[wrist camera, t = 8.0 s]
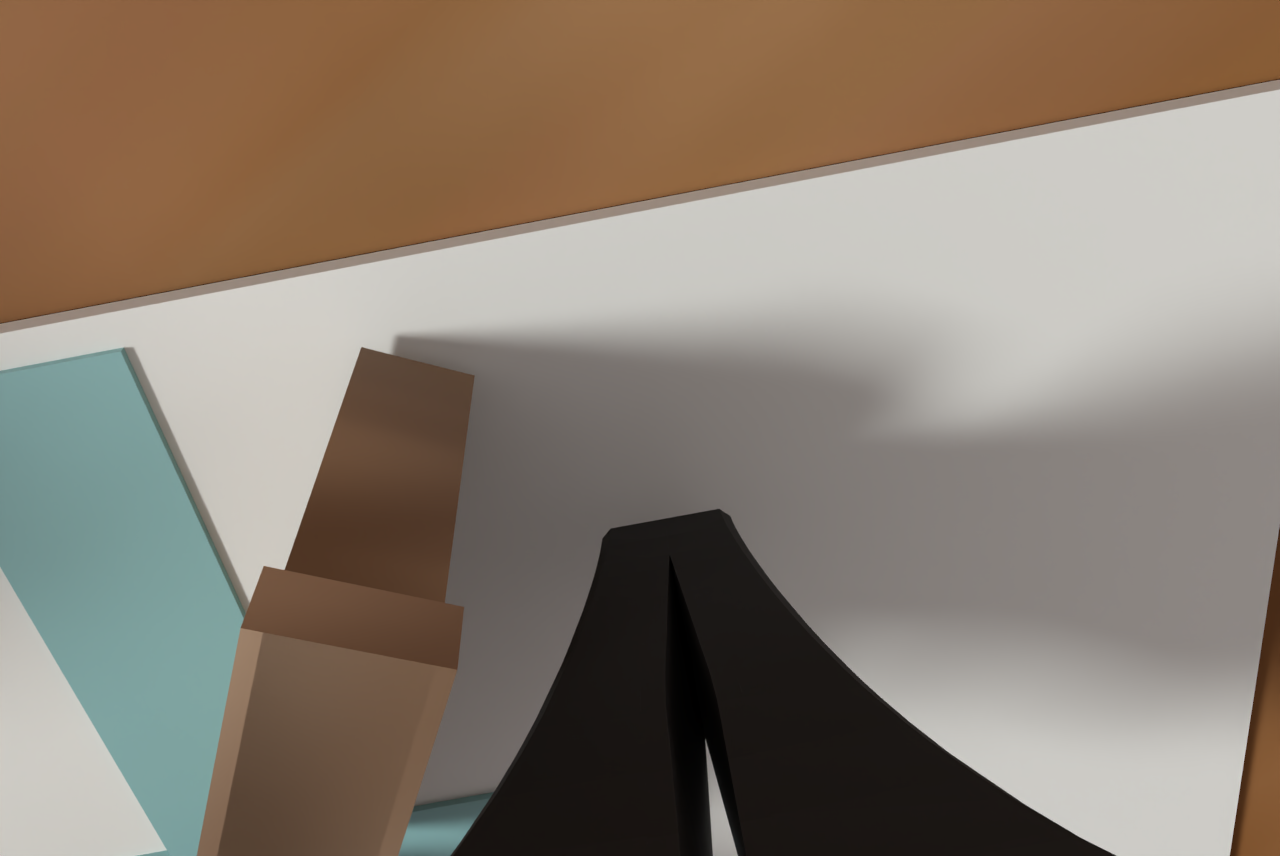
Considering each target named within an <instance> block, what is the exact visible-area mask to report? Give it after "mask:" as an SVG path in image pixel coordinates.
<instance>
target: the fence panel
mask: <svg viewBox="0 0 1280 856" xmlns="http://www.w3.org/2000/svg"><path fill="white" fill-rule="evenodd" d="M474 377H475V375H471V374H467V373H463V372H459V371H455V370H451V369H447V368H443V367H439V366H435V365H431V364H427V363H423V362H419V361H415V360H411V359H407V358H403V357H399V356H395V355H391V354H387V353H383V352H379V351H375V350H371V349H367V348H363V347H361V349H360V352H359V355H358V358H357V361H356V364H355V367H354V370H353V373H352V376H351V378H350V381H349V384H348V387H347V390H346V393H345V396H344V399H343V402H342V405H341V407H340V410H339V413H338V416H337V419H336V422H335V425H334V428H333V431H332V434H331V436H330V439H329V442H328V445H327V448H326V451H325V454H324V457H323V460H322V463H321V466H320V468H319V471H318V474H317V477H316V480H315V483H314V486H313V489H312V492H311V495H310V497H309V500H308V503H307V506H306V509H305V512H304V515H303V518H302V521H301V524H300V526H299V529H298V532H297V535H296V538H295V541H294V544H293V547H292V550H291V553H290V556H289V558H288V561H287V564H286V567H285V570H282V569H277V568H272V567H267V566H263V569H262V572H261V574H260V577H259V580H258V583H257V585H256V588H255V591H254V593H253V596H252V599H251V601H250V604H249V607H248V609H247V612H246V615H245V617H244V620H243V623H242V625H241V628H240V633H239V638H238V644H237V649H236V654H235V659H234V664H233V670H232V675H231V680H230V685H229V690H228V696H227V701H226V706H225V711H224V716H223V722H222V727H221V732H220V737H219V742H218V748H217V753H216V758H215V763H214V768H213V774H212V779H211V784H210V789H209V794H208V800H207V805H206V810H205V815H204V820H203V826H202V831H201V836H200V841H199V846H198V852H197V856H398V855H399V852H400V848H401V845H402V842H403V839H404V836H405V833H406V830H407V826H408V823H409V820H410V817H411V814H412V811H413V808H414V804H415V801H416V798H417V795H418V792H419V789H420V786H421V783H422V779H423V776H424V773H425V770H426V767H427V764H428V761H429V757H430V754H431V751H432V748H433V745H434V742H435V739H436V736H437V732H438V729H439V726H440V723H441V720H442V717H443V714H444V710H445V707H446V704H447V701H448V698H449V695H450V692H451V689H452V685H453V682H454V679H455V676H456V673H457V669H458V660H459V651H460V641H461V632H462V623H463V613H464V607H462V606H457V605H452V604H448V603H445V598H446V590H447V583H448V575H449V567H450V560H451V552H452V545H453V537H454V529H455V522H456V514H457V506H458V499H459V491H460V484H461V476H462V468H463V461H464V453H465V446H466V438H467V430H468V423H469V415H470V408H471V400H472V392H473V385H474Z"/></svg>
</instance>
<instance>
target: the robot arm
mask: <svg viewBox="0 0 1280 856" xmlns="http://www.w3.org/2000/svg"><path fill="white" fill-rule="evenodd" d="M705 739H706V742H705ZM706 743H707V746H708V750H709V753H710V757H711V761H712V764H713V768H714V772H715V775H716V779H717V782H718V786H719V790H720V793H721V797H722V801H723V804H724V808H725V811H726V815H727V819H728V822H729V826H730V829H731V833H732V837H733V840H734V844H735V847H736V851H737V855H738V856H1116V855H1114V854H1112V853H1110V852H1108V851H1106V850H1104V849H1102V848H1100V847H1098V846H1096V845H1094V844H1092V843H1090V842H1088V841H1086V840H1084V839H1082V838H1080V837H1079V836H1077V835H1075V834H1074V833H1072V832H1070V831H1069V830H1067V829H1065V828H1064V827H1062V826H1060V825H1059V824H1057V823H1055V822H1053V821H1052V820H1050V819H1048V818H1047V817H1045V816H1043V815H1042V814H1040V813H1038V812H1037V811H1035V810H1033V809H1032V808H1030V807H1028V806H1027V805H1025V804H1024V803H1022V802H1021V801H1019V800H1018V799H1016V798H1015V797H1013V796H1012V795H1010V794H1009V793H1007V792H1006V791H1004V790H1003V789H1002V788H1000V787H999V786H997V785H996V784H994V783H993V782H991V781H990V780H988V779H987V778H985V777H984V776H982V775H981V774H979V773H978V772H977V771H975V770H974V769H972V768H971V767H969V766H968V765H966V764H965V763H963V762H962V761H960V760H959V759H957V758H956V757H955V756H953V755H952V754H950V753H949V752H948V751H946V750H945V749H944V748H942V747H941V746H940V745H938V744H937V743H936V742H935V741H933V740H932V739H931V738H930V737H928V736H927V735H926V734H924V733H923V732H922V731H921V730H919V729H918V728H917V727H915V726H914V725H913V724H912V723H910V722H909V721H908V720H907V719H906V718H904V717H903V716H902V715H901V714H900V713H899V712H897V711H896V710H895V709H894V708H893V707H891V706H890V705H889V704H888V703H887V702H886V701H884V700H883V699H882V698H881V697H880V696H879V695H878V694H876V693H875V692H874V691H873V690H872V689H871V688H870V687H869V686H868V685H867V684H866V683H864V682H863V681H862V680H861V679H860V678H859V677H858V676H857V675H856V674H855V673H854V672H853V671H852V670H851V669H850V668H849V667H848V666H847V665H846V664H845V663H844V662H843V661H842V660H841V659H840V658H839V657H838V656H837V655H836V654H835V653H834V652H833V651H832V650H831V649H830V648H829V647H828V646H827V645H826V644H825V643H824V642H823V641H822V640H821V639H820V637H819V636H818V635H817V634H816V633H815V632H814V631H813V630H812V629H811V628H810V627H809V626H808V624H807V623H806V622H805V621H804V620H803V619H802V617H801V616H800V615H799V614H798V613H797V611H796V610H795V609H794V608H793V607H792V606H791V604H790V603H789V602H788V601H787V600H786V598H785V597H784V596H783V595H782V594H781V593H780V591H779V590H778V589H777V588H776V586H775V585H774V584H773V582H772V581H771V580H770V579H769V577H768V576H767V575H766V573H765V572H764V570H763V569H762V568H761V566H760V565H759V564H758V562H757V561H756V559H755V558H754V557H753V555H752V554H751V552H750V551H749V549H748V548H747V546H746V544H745V543H744V541H743V540H742V538H741V536H740V534H739V533H738V531H737V529H736V527H735V525H734V523H733V521H732V519H731V516H730V515H728V514H727V513H725V512H723V511H722V510H720V509H715V510H709V511H704V512H698V513H693V514H687V515H682V516H676V517H671V518H665V519H660V520H654V521H649V522H643V523H638V524H632V525H627V526H621V527H616V528H611V529H610V530H609V531H608V532H607V533H606V535H605V536H604V537H603V538H602V544H601V550H600V555H599V559H598V563H597V567H596V571H595V574H594V578H593V581H592V585H591V588H590V591H589V594H588V597H587V600H586V603H585V606H584V609H583V612H582V614H581V617H580V620H579V622H578V625H577V627H576V630H575V632H574V635H573V638H572V640H571V643H570V645H569V648H568V650H567V653H566V655H565V658H564V660H563V663H562V665H561V667H560V669H559V671H558V674H557V676H556V678H555V680H554V682H553V684H552V686H551V688H550V690H549V693H548V695H547V697H546V699H545V701H544V703H543V705H542V707H541V709H540V711H539V714H538V716H537V718H536V720H535V722H534V724H533V725H532V727H531V729H530V731H529V733H528V735H527V737H526V738H525V740H524V742H523V744H522V746H521V748H520V749H519V751H518V753H517V755H516V756H515V758H514V760H513V762H512V763H511V765H510V767H509V768H508V770H507V772H506V773H505V775H504V777H503V778H502V780H501V782H500V783H499V785H498V786H497V788H496V790H495V791H494V793H493V794H492V796H491V797H490V799H489V800H488V802H487V803H486V805H485V806H484V808H483V809H482V811H481V812H480V814H479V815H478V817H477V818H476V820H475V821H474V823H473V824H472V826H471V827H470V829H469V830H468V832H467V833H466V834H465V836H464V837H463V839H462V840H461V842H460V843H459V845H458V846H457V847H456V849H455V850H454V851H453V853H452V854H451V856H713V850H712V834H711V818H710V802H709V787H708V772H707V757H706Z"/></svg>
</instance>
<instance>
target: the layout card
mask: <svg viewBox="0 0 1280 856" xmlns="http://www.w3.org/2000/svg"><path fill="white" fill-rule="evenodd" d="M361 347H363V348H367V349H371V350H375V351H379V352H383V353H387V354H391V355H395V356H399V357H403V358H407V359H411V360H415V361H419V362H423V363H427V364H431V365H435V366H439V367H443V368H447V369H451V370H455V371H459V372H463V373H467V374H471V375H475V377H474V385H473V392H472V400H471V408H470V415H469V423H468V430H467V438H466V446H465V453H464V461H463V468H462V476H461V484H460V491H459V499H458V506H457V514H456V522H455V529H454V537H453V545H452V552H451V560H450V567H449V575H448V583H447V590H446V598H445V603H448V604H452V605H457V606H462V607H464V613H463V623H462V632H461V641H460V651H459V660H458V669H457V673H456V676H455V679H454V682H453V685H452V689H451V692H450V695H449V698H448V701H447V704H446V707H445V710H444V714H443V717H442V720H441V723H440V726H439V729H438V732H437V736H436V739H435V742H434V745H433V748H432V751H431V754H430V757H429V761H428V764H427V767H426V770H425V773H424V776H423V779H422V783H421V786H420V789H419V792H418V795H417V798H416V801H415V804H414V808H413V811H412V814H411V817H410V820H409V823H408V826H407V830H406V833H405V836H404V839H403V842H402V845H401V848H400V852H399V855H398V856H451V854H452V853H453V851H454V850H455V849H456V847H457V846H458V845H459V843H460V842H461V840H462V839H463V837H464V836H465V834H466V833H467V832H468V830H469V829H470V827H471V826H472V824H473V823H474V821H475V820H476V818H477V817H478V815H479V814H480V812H481V811H482V809H483V808H484V806H485V805H486V803H487V802H488V800H489V799H490V797H491V796H492V794H493V793H494V791H495V790H496V788H497V786H498V785H499V783H500V782H501V780H502V778H503V777H504V775H505V773H506V772H507V770H508V768H509V767H510V765H511V763H512V762H513V760H514V758H515V756H516V755H517V753H518V751H519V749H520V748H521V746H522V744H523V742H524V740H525V738H526V737H527V735H528V733H529V731H530V729H531V727H532V725H533V724H534V722H535V720H536V718H537V716H538V714H539V711H540V709H541V707H542V705H543V703H544V701H545V699H546V697H547V695H548V693H549V690H550V688H551V686H552V684H553V682H554V680H555V678H556V676H557V674H558V671H559V669H560V667H561V665H562V663H563V660H564V658H565V655H566V653H567V650H568V648H569V645H570V643H571V640H572V638H573V635H574V632H575V630H576V627H577V625H578V622H579V620H580V617H581V614H582V612H583V609H584V606H585V603H586V600H587V597H588V594H589V591H590V588H591V585H592V581H593V578H594V574H595V571H596V567H597V563H598V559H599V555H600V550H601V544H602V538H603V537H604V536H605V535H606V533H607V532H608V531H609V530H610V529H611V528H616V527H621V526H627V525H632V524H638V523H643V522H649V521H654V520H660V519H665V518H671V517H676V516H682V515H687V514H693V513H698V512H704V511H709V510H715V509H720V510H722V511H723V512H725V513H727V514H728V515H730V516H731V519H732V521H733V523H734V525H735V527H736V529H737V531H738V533H739V534H740V536H741V538H742V540H743V541H744V543H745V544H746V546H747V548H748V549H749V551H750V552H751V554H752V555H753V557H754V558H755V559H756V561H757V562H758V564H759V565H760V566H761V568H762V569H763V570H764V572H765V573H766V575H767V576H768V577H769V579H770V580H771V581H772V582H773V584H774V585H775V586H776V588H777V589H778V590H779V591H780V593H781V594H782V595H783V596H784V597H785V598H786V600H787V601H788V602H789V603H790V604H791V606H792V607H793V608H794V609H795V610H796V611H797V613H798V614H799V615H800V616H801V617H802V619H803V620H804V621H805V622H806V623H807V624H808V626H809V627H810V628H811V629H812V630H813V631H814V632H815V633H816V634H817V635H818V636H819V637H820V639H821V640H822V641H823V642H824V643H825V644H826V645H827V646H828V647H829V648H830V649H831V650H832V651H833V652H834V653H835V654H836V655H837V656H838V657H839V658H840V659H841V660H842V661H843V662H844V663H845V664H846V665H847V666H848V667H849V668H850V669H851V670H852V671H853V672H854V673H855V674H856V675H857V676H858V677H859V678H860V679H861V680H862V681H863V682H864V683H866V684H867V685H868V686H869V687H870V688H871V689H872V690H873V691H874V692H875V693H876V694H878V695H879V696H880V697H881V698H882V699H883V700H884V701H886V702H887V703H888V704H889V705H890V706H891V707H893V708H894V709H895V710H896V711H897V712H899V713H900V714H901V715H902V716H903V717H904V718H906V719H907V720H908V721H909V722H910V723H912V724H913V725H914V726H915V727H917V728H918V729H919V730H921V731H922V732H923V733H924V734H926V735H927V736H928V737H930V738H931V739H932V740H933V741H935V742H936V743H937V744H938V745H940V746H941V747H942V748H944V749H945V750H946V751H948V752H949V753H950V754H952V755H953V756H955V757H956V758H957V759H959V760H960V761H962V762H963V763H965V764H966V765H968V766H969V767H971V768H972V769H974V770H975V771H977V772H978V773H979V774H981V775H982V776H984V777H985V778H987V779H988V780H990V781H991V782H993V783H994V784H996V785H997V786H999V787H1000V788H1002V789H1003V790H1004V791H1006V792H1007V793H1009V794H1010V795H1012V796H1013V797H1015V798H1016V799H1018V800H1019V801H1021V802H1022V803H1024V804H1025V805H1027V806H1028V807H1030V808H1032V809H1033V810H1035V811H1037V812H1038V813H1040V814H1042V815H1043V816H1045V817H1047V818H1048V819H1050V820H1052V821H1053V822H1055V823H1057V824H1059V825H1060V826H1062V827H1064V828H1065V829H1067V830H1069V831H1070V832H1072V833H1074V834H1075V835H1077V836H1079V837H1080V838H1082V839H1084V840H1086V841H1088V842H1090V843H1092V844H1094V845H1096V846H1098V847H1100V848H1102V849H1104V850H1106V851H1108V852H1110V853H1112V854H1114V855H1116V856H1230V851H1231V844H1232V837H1233V831H1234V824H1235V818H1236V811H1237V804H1238V798H1239V791H1240V785H1241V778H1242V771H1243V765H1244V758H1245V752H1246V745H1247V738H1248V732H1249V725H1250V718H1251V712H1252V705H1253V699H1254V692H1255V685H1256V679H1257V672H1258V666H1259V659H1260V652H1261V646H1262V639H1263V633H1264V626H1265V619H1266V613H1267V606H1268V600H1269V593H1270V586H1271V580H1272V573H1273V567H1274V560H1275V553H1276V547H1277V540H1278V533H1279V527H1280V80H1275V81H1269V82H1264V83H1259V84H1254V85H1248V86H1243V87H1238V88H1233V89H1227V90H1222V91H1217V92H1212V93H1206V94H1201V95H1196V96H1191V97H1186V98H1180V99H1175V100H1170V101H1165V102H1159V103H1154V104H1149V105H1144V106H1138V107H1133V108H1128V109H1123V110H1117V111H1112V112H1107V113H1102V114H1097V115H1091V116H1086V117H1081V118H1076V119H1070V120H1065V121H1060V122H1055V123H1049V124H1044V125H1039V126H1034V127H1028V128H1023V129H1018V130H1013V131H1008V132H1002V133H997V134H992V135H987V136H981V137H976V138H971V139H966V140H960V141H955V142H950V143H945V144H939V145H934V146H929V147H924V148H919V149H913V150H908V151H903V152H898V153H892V154H887V155H882V156H877V157H871V158H866V159H861V160H856V161H850V162H845V163H840V164H835V165H830V166H824V167H819V168H814V169H809V170H803V171H798V172H793V173H788V174H782V175H777V176H772V177H767V178H761V179H756V180H751V181H746V182H741V183H735V184H730V185H725V186H720V187H714V188H709V189H704V190H699V191H693V192H688V193H683V194H678V195H672V196H667V197H662V198H657V199H652V200H646V201H641V202H636V203H631V204H625V205H620V206H615V207H610V208H604V209H599V210H594V211H589V212H583V213H578V214H573V215H568V216H563V217H557V218H552V219H547V220H542V221H536V222H531V223H526V224H521V225H515V226H510V227H505V228H500V229H494V230H489V231H484V232H479V233H474V234H468V235H463V236H458V237H453V238H447V239H442V240H437V241H432V242H426V243H421V244H416V245H411V246H405V247H400V248H395V249H390V250H385V251H379V252H374V253H369V254H364V255H358V256H353V257H348V258H343V259H337V260H332V261H327V262H322V263H316V264H311V265H306V266H301V267H296V268H290V269H285V270H280V271H275V272H269V273H264V274H259V275H254V276H248V277H243V278H238V279H233V280H227V281H222V282H217V283H212V284H207V285H201V286H196V287H191V288H186V289H180V290H175V291H170V292H165V293H159V294H154V295H149V296H144V297H138V298H133V299H128V300H123V301H118V302H112V303H107V304H102V305H97V306H91V307H86V308H81V309H76V310H70V311H65V312H60V313H55V314H49V315H44V316H39V317H34V318H29V319H23V320H18V321H13V322H8V323H2V324H0V856H197V852H198V846H199V841H200V836H201V831H202V826H203V820H204V815H205V810H206V805H207V800H208V794H209V789H210V784H211V779H212V774H213V768H214V763H215V758H216V753H217V748H218V742H219V737H220V732H221V727H222V722H223V716H224V711H225V706H226V701H227V696H228V690H229V685H230V680H231V675H232V670H233V664H234V659H235V654H236V649H237V644H238V638H239V633H240V628H241V625H242V623H243V620H244V617H245V615H246V612H247V609H248V607H249V604H250V601H251V599H252V596H253V593H254V591H255V588H256V585H257V583H258V580H259V577H260V574H261V572H262V569H263V566H267V567H272V568H277V569H282V570H285V567H286V564H287V561H288V558H289V556H290V553H291V550H292V547H293V544H294V541H295V538H296V535H297V532H298V529H299V526H300V524H301V521H302V518H303V515H304V512H305V509H306V506H307V503H308V500H309V497H310V495H311V492H312V489H313V486H314V483H315V480H316V477H317V474H318V471H319V468H320V466H321V463H322V460H323V457H324V454H325V451H326V448H327V445H328V442H329V439H330V436H331V434H332V431H333V428H334V425H335V422H336V419H337V416H338V413H339V410H340V407H341V405H342V402H343V399H344V396H345V393H346V390H347V387H348V384H349V381H350V378H351V376H352V373H353V370H354V367H355V364H356V361H357V358H358V355H359V352H360V349H361ZM705 742H706V739H705ZM706 757H707V772H708V787H709V802H710V818H711V834H712V850H713V856H738V855H737V851H736V847H735V844H734V840H733V837H732V833H731V829H730V826H729V822H728V819H727V815H726V811H725V808H724V804H723V801H722V797H721V793H720V790H719V786H718V782H717V779H716V775H715V772H714V768H713V764H712V761H711V757H710V753H709V750H708V746H707V743H706Z"/></svg>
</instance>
